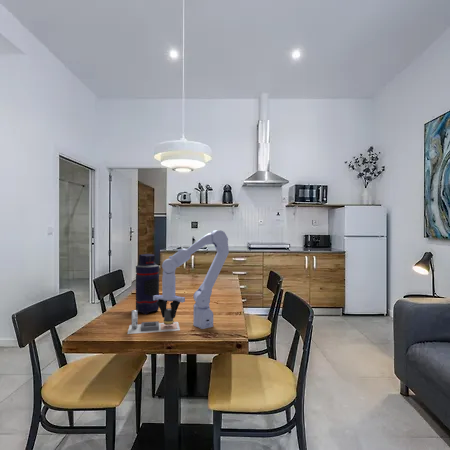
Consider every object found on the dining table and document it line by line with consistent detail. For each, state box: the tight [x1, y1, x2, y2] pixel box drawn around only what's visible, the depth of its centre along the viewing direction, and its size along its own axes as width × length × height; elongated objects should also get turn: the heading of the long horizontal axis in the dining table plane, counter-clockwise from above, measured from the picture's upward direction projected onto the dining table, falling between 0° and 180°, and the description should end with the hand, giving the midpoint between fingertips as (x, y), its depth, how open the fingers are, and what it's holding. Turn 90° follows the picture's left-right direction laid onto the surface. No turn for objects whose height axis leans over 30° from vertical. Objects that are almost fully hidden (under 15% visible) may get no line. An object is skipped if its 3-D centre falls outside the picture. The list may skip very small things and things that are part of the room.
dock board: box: [127, 320, 181, 335], centre depth 138 cm, size 22×12×2 cm, turn 103°
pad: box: [161, 323, 177, 330], centre depth 139 cm, size 7×7×1 cm
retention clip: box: [131, 309, 139, 329], centre depth 131 cm, size 13×2×8 cm, turn 17°
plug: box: [163, 308, 175, 325], centre depth 139 cm, size 4×4×6 cm
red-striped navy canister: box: [135, 253, 160, 315], centre depth 168 cm, size 14×12×30 cm
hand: (168, 317), depth 139 cm, fingers closed on plug, 4 cm apart
